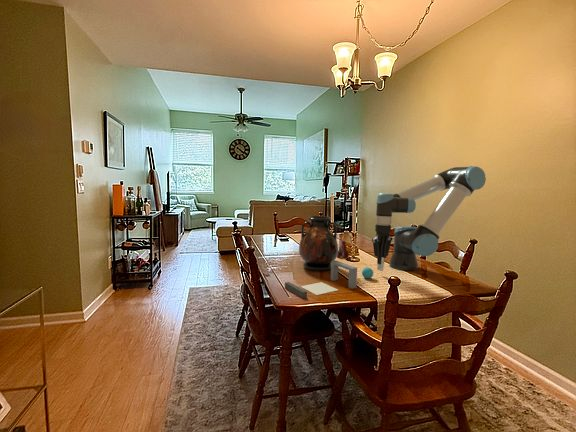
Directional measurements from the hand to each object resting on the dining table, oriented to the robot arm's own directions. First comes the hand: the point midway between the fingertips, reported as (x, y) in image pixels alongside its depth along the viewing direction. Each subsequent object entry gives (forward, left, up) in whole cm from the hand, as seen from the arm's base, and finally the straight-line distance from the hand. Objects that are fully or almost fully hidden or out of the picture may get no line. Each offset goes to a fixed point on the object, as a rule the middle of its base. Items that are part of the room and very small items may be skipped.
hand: (380, 270), depth 158 cm
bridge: (+25, 0, -3) cm, 25 cm away
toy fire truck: (-10, -40, -3) cm, 41 cm away
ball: (+9, 0, 0) cm, 9 cm away
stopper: (+51, -1, -3) cm, 51 cm away
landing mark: (+39, 0, -3) cm, 39 cm away
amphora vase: (+19, -27, -3) cm, 33 cm away
